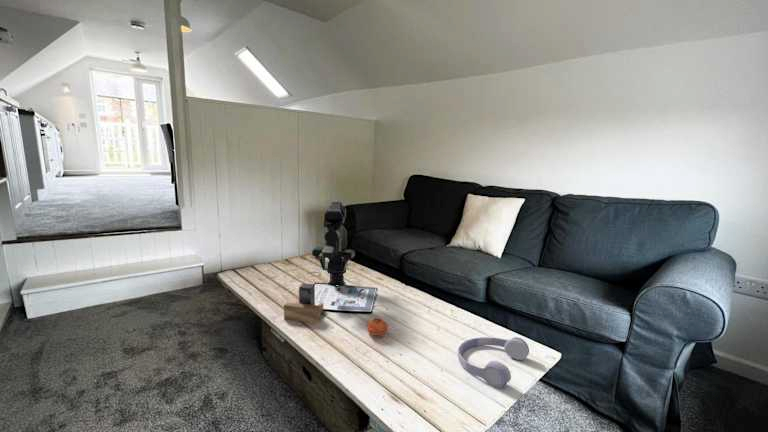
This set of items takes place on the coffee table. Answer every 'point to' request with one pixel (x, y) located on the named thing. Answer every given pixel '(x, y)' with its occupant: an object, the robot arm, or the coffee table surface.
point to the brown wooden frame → (303, 312)
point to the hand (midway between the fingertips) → (333, 270)
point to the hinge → (325, 262)
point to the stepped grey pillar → (307, 294)
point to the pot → (377, 327)
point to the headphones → (494, 370)
